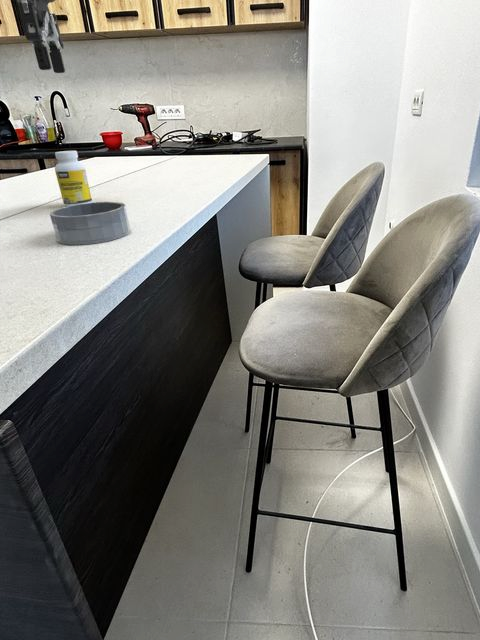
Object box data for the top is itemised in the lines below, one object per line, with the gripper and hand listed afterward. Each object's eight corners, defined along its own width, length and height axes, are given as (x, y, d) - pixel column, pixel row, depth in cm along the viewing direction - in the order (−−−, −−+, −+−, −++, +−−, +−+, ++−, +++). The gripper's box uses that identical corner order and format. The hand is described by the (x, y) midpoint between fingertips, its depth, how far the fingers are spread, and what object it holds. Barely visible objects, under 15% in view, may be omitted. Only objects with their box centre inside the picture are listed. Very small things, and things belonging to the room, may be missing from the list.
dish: (42, 244, 71) (33, 217, 69) (81, 226, 82) (75, 202, 79) (109, 245, 69) (102, 216, 67) (141, 226, 79) (136, 201, 77)
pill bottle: (58, 207, 101) (44, 153, 95) (73, 202, 106) (60, 150, 100) (84, 207, 100) (70, 152, 94) (97, 201, 105) (86, 149, 99)
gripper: (22, -21, 86) (46, 75, 94) (-11, -44, 73) (20, 69, 81) (60, -23, 86) (81, 73, 94) (34, -45, 74) (60, 67, 82)
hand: (53, 71), depth 88 cm, fingers open, 8 cm apart
